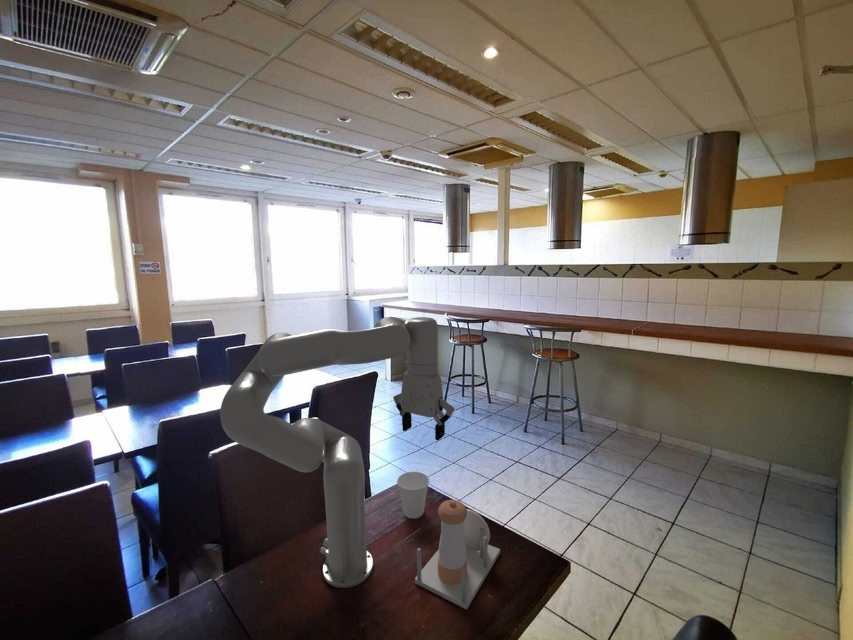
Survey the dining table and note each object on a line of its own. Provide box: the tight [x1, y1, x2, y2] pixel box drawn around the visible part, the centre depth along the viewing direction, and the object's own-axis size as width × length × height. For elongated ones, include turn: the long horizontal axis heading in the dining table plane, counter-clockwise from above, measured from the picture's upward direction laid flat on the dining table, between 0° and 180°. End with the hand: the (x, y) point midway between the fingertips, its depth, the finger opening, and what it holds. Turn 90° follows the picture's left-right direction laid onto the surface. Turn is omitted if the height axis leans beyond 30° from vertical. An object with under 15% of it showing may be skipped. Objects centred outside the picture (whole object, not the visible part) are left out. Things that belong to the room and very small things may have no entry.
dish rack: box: [414, 508, 501, 610], centre depth 100 cm, size 14×20×12 cm
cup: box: [396, 471, 430, 520], centre depth 122 cm, size 10×10×11 cm
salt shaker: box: [437, 499, 468, 584], centre depth 97 cm, size 7×7×19 cm
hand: (423, 433), depth 100 cm, fingers open, 9 cm apart
